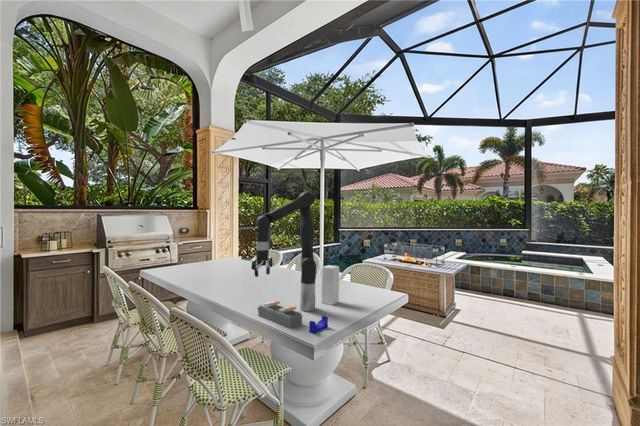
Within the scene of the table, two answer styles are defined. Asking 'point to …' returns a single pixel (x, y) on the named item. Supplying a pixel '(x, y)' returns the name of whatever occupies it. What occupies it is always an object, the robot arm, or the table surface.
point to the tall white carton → (330, 284)
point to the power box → (280, 315)
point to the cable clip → (318, 325)
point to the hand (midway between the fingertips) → (262, 275)
